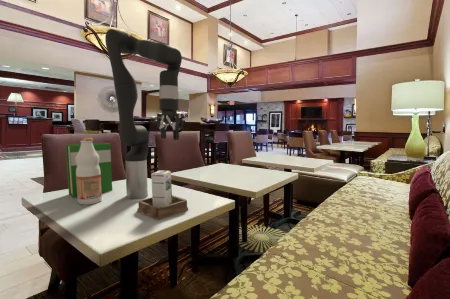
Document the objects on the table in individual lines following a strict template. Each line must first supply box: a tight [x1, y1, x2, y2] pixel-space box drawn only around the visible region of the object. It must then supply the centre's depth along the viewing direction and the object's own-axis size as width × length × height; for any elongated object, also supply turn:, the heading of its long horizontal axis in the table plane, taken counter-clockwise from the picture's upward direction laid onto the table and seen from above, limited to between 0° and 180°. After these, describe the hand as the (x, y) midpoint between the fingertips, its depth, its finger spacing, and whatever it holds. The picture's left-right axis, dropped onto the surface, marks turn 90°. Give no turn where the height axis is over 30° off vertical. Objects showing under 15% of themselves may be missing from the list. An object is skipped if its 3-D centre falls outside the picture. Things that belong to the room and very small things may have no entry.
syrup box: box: [150, 170, 173, 208], centre depth 98 cm, size 6×6×14 cm
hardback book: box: [65, 142, 113, 199], centre depth 123 cm, size 18×7×24 cm, turn 135°
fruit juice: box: [75, 137, 103, 205], centre depth 108 cm, size 9×9×28 cm
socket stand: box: [137, 194, 189, 221], centre depth 99 cm, size 14×14×4 cm
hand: (169, 139), depth 101 cm, fingers open, 8 cm apart
